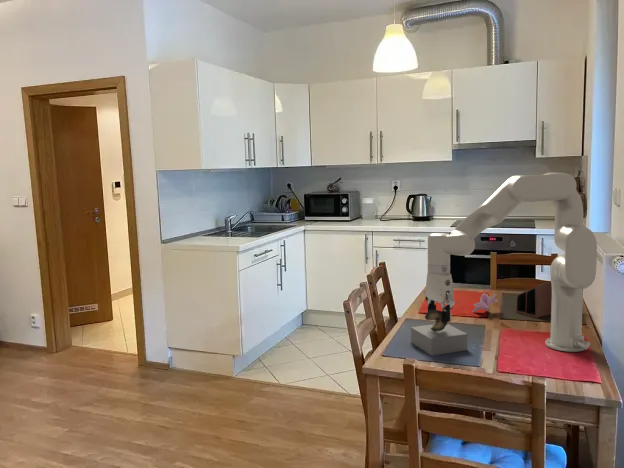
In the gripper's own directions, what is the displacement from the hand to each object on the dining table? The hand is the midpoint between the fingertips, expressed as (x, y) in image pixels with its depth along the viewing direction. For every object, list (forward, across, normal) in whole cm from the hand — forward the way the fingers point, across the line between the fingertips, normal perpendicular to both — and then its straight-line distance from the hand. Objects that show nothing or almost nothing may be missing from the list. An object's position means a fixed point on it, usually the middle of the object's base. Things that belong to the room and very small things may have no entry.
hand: (438, 318), depth 180 cm
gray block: (+10, 0, 0) cm, 10 cm away
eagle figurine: (+3, -1, +1) cm, 3 cm away
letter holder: (+10, +15, -64) cm, 66 cm away
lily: (+10, +23, -41) cm, 48 cm away
